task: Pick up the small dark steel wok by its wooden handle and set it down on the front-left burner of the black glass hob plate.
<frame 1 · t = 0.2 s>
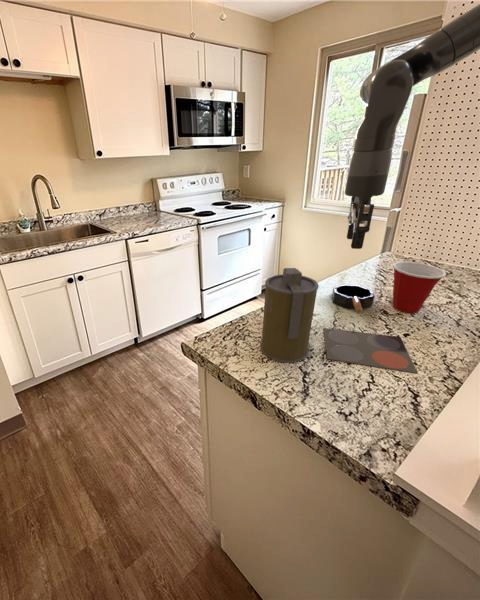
hand: (353, 243, 76), 21 cm above the countertop, tool pointing down, fingers open, 8 cm apart
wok: (350, 302, 92), on the countertop
hob: (364, 348, 71), on the countertop
plastic cup: (406, 309, 86), on the countertop
canister: (283, 350, 74), on the countertop
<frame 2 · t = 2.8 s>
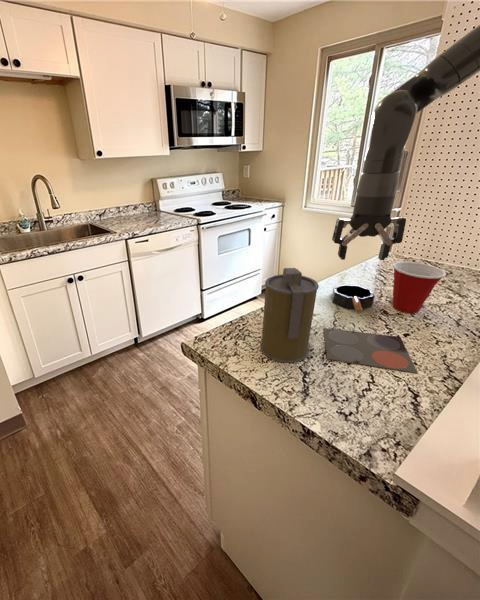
hand: (361, 259, 79), 16 cm above the countertop, tool pointing down, fingers open, 8 cm apart
nothing on the countertop moved.
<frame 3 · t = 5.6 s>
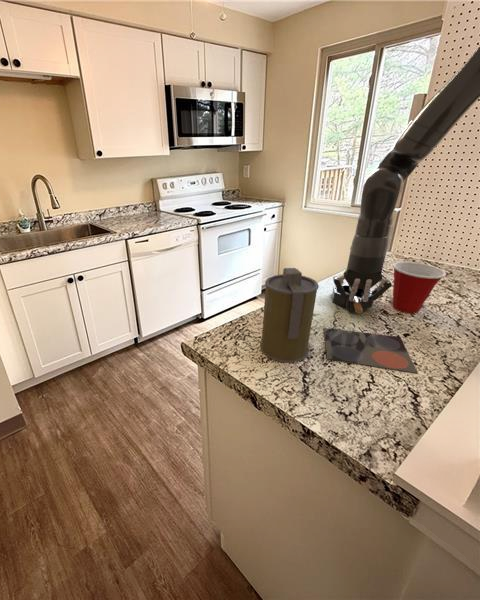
hand: (354, 311, 86), 0 cm above the countertop, tool pointing down, fingers closed on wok
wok: (350, 302, 92), on the countertop, touching gripper
everything else where it was.
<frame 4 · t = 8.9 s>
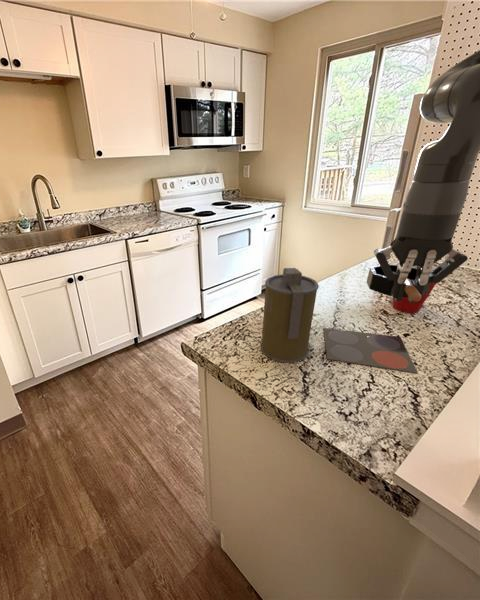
hand: (404, 300, 60), 15 cm above the countertop, tool pointing down, fingers closed on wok
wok: (395, 287, 66), point 15 cm above the countertop, touching gripper
everything else where it was.
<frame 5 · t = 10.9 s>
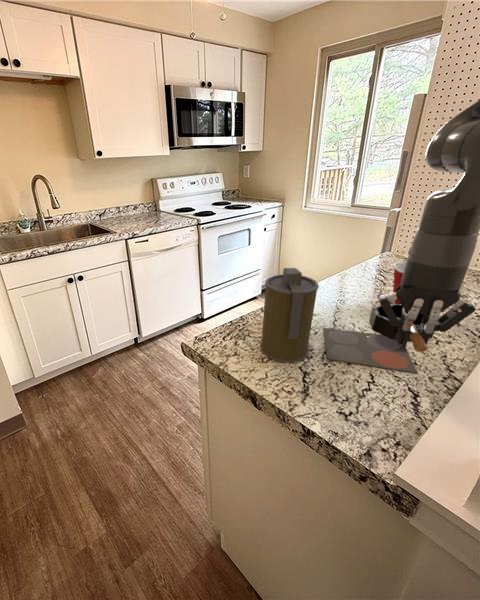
hand: (409, 346, 58), 8 cm above the countertop, tool pointing down, fingers closed on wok
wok: (398, 328, 64), point 8 cm above the countertop, touching gripper
everything else where it was.
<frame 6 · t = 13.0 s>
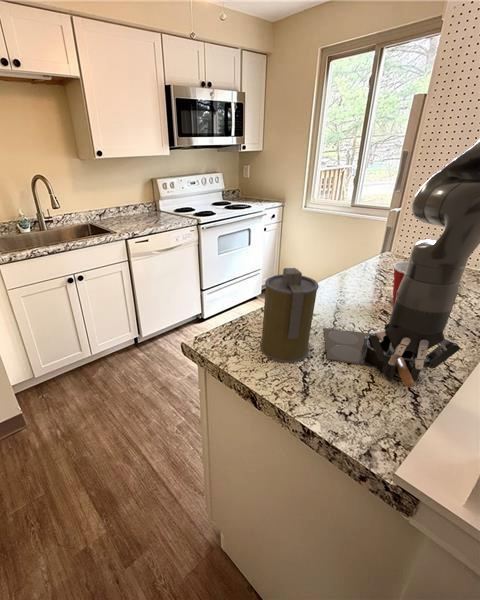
hand: (398, 378, 61), 0 cm above the countertop, tool pointing down, fingers closed
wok: (389, 359, 67), on the countertop, touching hob
everything else where it was.
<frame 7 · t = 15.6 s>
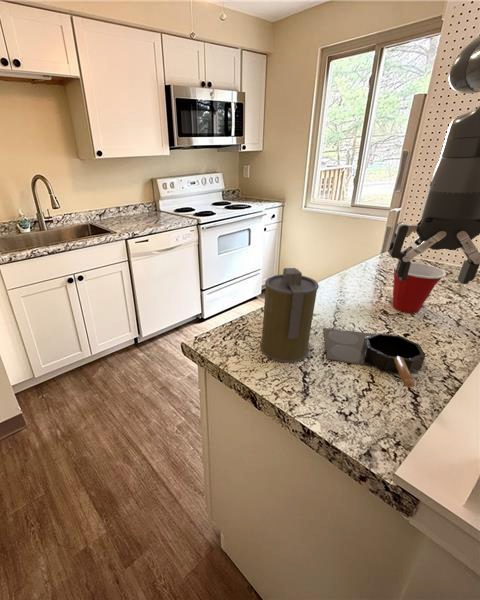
hand: (431, 280, 56), 20 cm above the countertop, tool pointing down, fingers open, 8 cm apart
nothing on the countertop moved.
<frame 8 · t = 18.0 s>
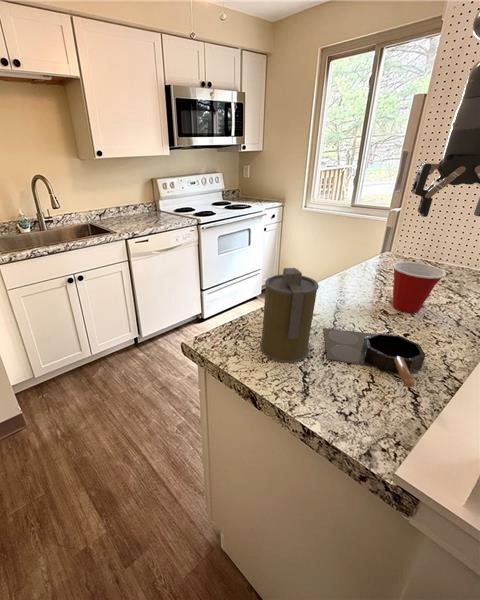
hand: (450, 215, 63), 28 cm above the countertop, tool pointing down, fingers open, 8 cm apart
nothing on the countertop moved.
at the end: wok 0.1 cm from the target spot on the hob, point 0.2 cm above the hob's base; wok tilted 0°; the gripper is holding nothing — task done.
